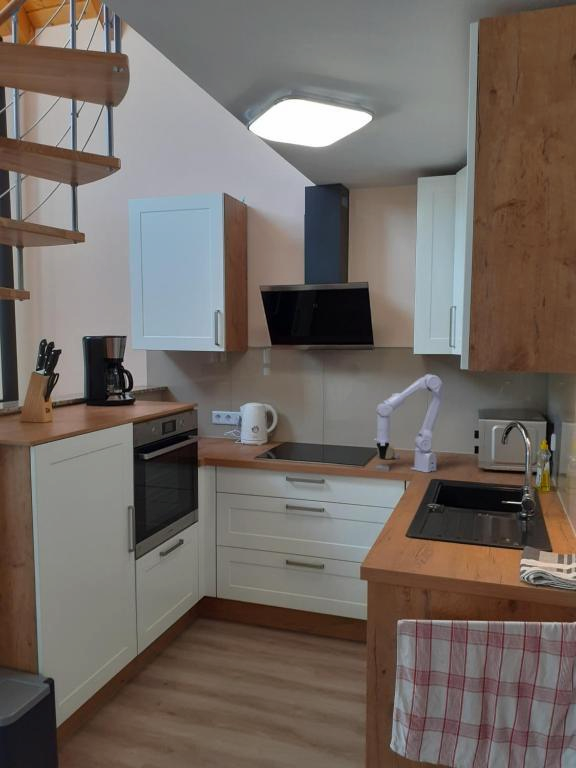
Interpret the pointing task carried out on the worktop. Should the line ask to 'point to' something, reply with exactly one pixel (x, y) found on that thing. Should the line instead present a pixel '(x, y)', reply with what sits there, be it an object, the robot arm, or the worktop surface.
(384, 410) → the robot arm
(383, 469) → the tile
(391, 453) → the ceramic mug
